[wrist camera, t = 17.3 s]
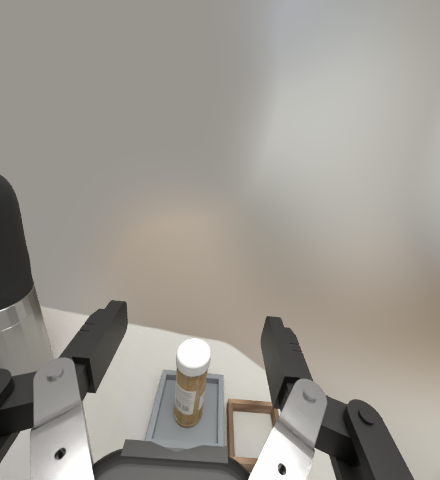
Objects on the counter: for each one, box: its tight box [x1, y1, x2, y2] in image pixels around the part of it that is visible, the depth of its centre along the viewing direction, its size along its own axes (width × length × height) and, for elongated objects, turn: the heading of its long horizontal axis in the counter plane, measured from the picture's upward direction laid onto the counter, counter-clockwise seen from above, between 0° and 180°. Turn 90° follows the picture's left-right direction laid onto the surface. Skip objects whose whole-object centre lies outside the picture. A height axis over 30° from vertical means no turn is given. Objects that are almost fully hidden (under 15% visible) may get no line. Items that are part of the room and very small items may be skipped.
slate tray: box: [145, 370, 224, 452], centre depth 35 cm, size 11×11×2 cm
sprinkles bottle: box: [174, 338, 211, 427], centre depth 32 cm, size 5×5×13 cm
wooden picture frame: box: [227, 399, 279, 472], centre depth 33 cm, size 8×8×2 cm
